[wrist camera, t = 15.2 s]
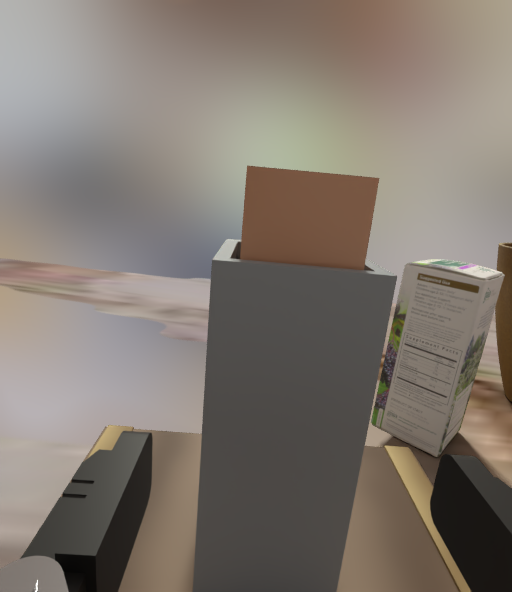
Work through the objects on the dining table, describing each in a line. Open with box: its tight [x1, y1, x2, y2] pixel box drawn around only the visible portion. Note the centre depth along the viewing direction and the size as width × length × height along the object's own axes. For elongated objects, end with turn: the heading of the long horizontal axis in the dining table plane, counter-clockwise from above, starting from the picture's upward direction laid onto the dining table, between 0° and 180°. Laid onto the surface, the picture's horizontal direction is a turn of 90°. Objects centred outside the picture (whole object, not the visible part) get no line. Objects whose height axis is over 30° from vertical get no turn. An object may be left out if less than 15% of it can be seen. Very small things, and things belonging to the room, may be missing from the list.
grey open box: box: [193, 239, 397, 592], centre depth 16 cm, size 6×6×13 cm
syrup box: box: [371, 259, 505, 457], centre depth 30 cm, size 6×6×14 cm
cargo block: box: [240, 166, 379, 270], centre depth 14 cm, size 4×4×4 cm
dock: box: [26, 425, 471, 592], centre depth 18 cm, size 20×14×3 cm
